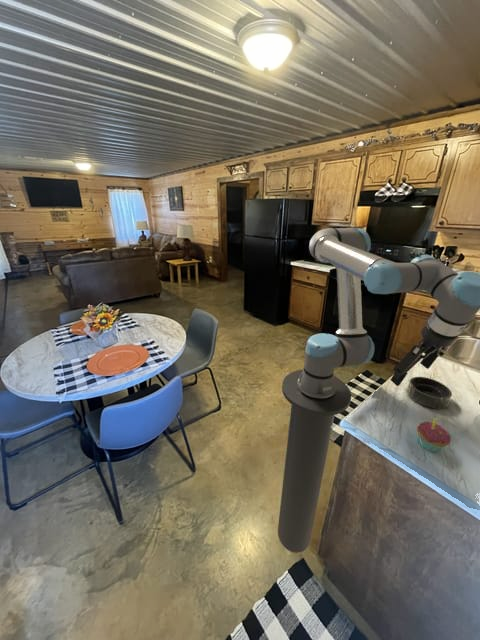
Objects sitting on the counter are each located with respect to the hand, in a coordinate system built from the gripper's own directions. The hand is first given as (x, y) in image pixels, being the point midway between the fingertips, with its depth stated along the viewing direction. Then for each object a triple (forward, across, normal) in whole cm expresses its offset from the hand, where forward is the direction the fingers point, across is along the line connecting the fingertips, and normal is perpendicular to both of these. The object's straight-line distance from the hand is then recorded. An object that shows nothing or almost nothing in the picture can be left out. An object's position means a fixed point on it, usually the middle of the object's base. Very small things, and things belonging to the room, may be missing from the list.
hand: (409, 374), depth 84 cm
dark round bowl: (+23, +18, -4) cm, 29 cm away
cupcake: (+14, -4, -17) cm, 22 cm away
